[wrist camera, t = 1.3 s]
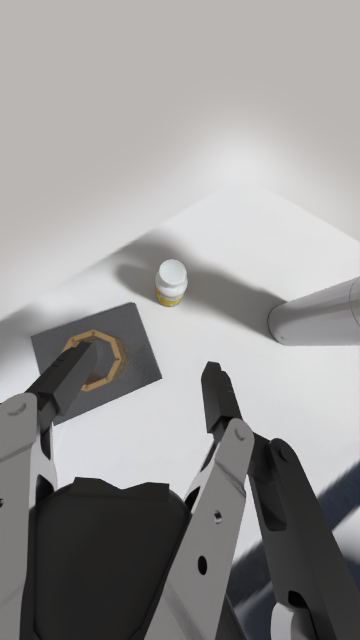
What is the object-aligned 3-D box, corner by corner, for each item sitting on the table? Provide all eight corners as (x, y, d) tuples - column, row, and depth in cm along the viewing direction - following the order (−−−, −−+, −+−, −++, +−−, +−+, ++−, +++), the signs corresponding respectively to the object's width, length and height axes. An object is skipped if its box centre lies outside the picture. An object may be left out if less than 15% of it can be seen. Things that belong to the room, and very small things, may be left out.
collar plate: (135, 303, 29) (131, 297, 25) (162, 377, 27) (162, 382, 23) (35, 337, 26) (13, 335, 22) (58, 423, 24) (38, 437, 20)
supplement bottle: (177, 311, 30) (185, 294, 21) (152, 303, 30) (148, 282, 20) (185, 287, 31) (195, 262, 22) (161, 279, 31) (160, 249, 21)
